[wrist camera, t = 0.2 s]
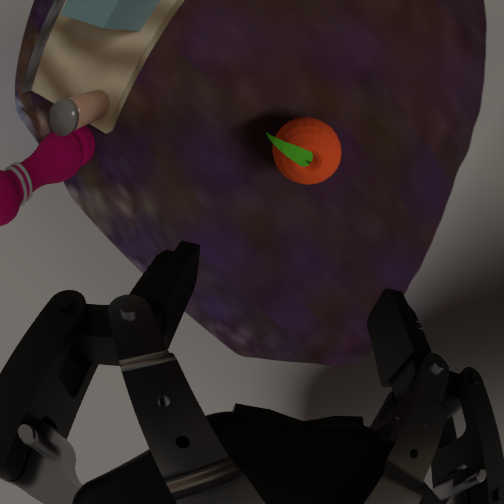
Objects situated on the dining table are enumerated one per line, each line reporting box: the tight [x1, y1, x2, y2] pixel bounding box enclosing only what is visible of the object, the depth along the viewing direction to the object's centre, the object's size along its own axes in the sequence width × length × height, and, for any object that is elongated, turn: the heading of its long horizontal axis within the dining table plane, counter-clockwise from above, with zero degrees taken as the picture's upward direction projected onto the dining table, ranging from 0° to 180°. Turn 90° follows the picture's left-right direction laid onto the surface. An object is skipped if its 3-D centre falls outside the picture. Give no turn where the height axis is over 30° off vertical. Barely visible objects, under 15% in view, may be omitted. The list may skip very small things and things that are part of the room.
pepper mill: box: [0, 126, 95, 226], centre depth 23 cm, size 7×7×20 cm
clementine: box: [266, 117, 341, 184], centre depth 25 cm, size 8×7×7 cm
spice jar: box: [49, 90, 109, 136], centre depth 23 cm, size 4×4×7 cm
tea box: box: [60, 0, 160, 31], centre depth 15 cm, size 5×7×7 cm
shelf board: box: [22, 0, 184, 134], centre depth 20 cm, size 20×18×3 cm
